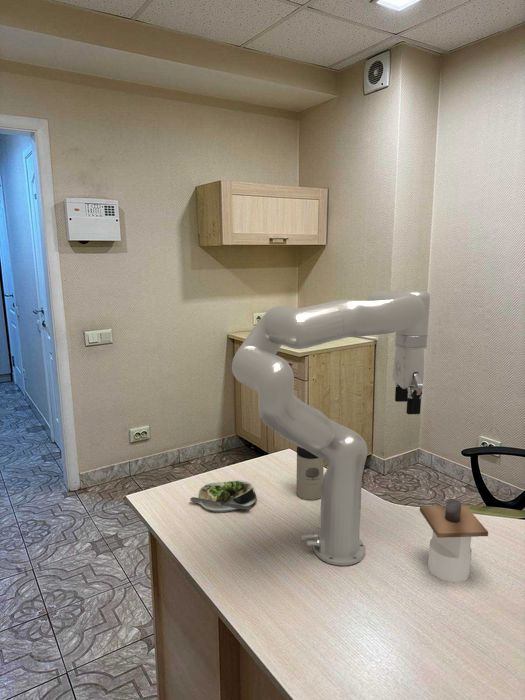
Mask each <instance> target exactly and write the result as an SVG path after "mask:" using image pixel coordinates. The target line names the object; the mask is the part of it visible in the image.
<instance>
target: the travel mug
mask: <svg viewBox="0 0 525 700" xmlns="http://www.w3.org/2000/svg"><path fill="white" fill-rule="evenodd" d="M296 446H297V445H296ZM324 463H325V461H323V460H322V459H320V458H319V457H317V456H315V455H314V454H312V453H310V452H309V451H307V450H305V449H303V448H301V447H299V446H297V447H296V484H295V486H296V488H295V489H296V490H295V491H296V492H295V493H296V496H298V497H299V498H301V499H304V500H308V501H314V500H317V499H321V481H322V477H323V475H324V465H325V464H324Z"/></svg>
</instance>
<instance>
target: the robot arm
mask: <svg viewBox="0 0 525 700" xmlns="http://www.w3.org/2000/svg"><path fill="white" fill-rule="evenodd" d="M430 304H431V295H430V293H429V292H428V291H427V290H426V291H425V290H422V289H405V290H401V291H397V290H396V291H395V290H394V291H393V290H377V291H374V292H372V293H371V294H370V295H369V296H368V297H367V298H366V300H363V299H336V300H332V301H328V302H323V303H318V304H315V305H309V306H304V307H298V308H297V307H290V306H285V305H276V306H274V307H271V308H270V309H269V310H267V311H266V312H265V314H263V316H262V317H261V318H260V319H259V321H257V323H256V324H255V325H254V327H253V328H252V329H251V331H250V332H249V334H248V335H247V336H246V338H245V339H244V341H243V342H242V344H241V345H240V346H239V347H238V349H237V350H236V352H235V355H234V356H233V358H232V362H231V372H232V375H233V376H234V378H235V379H236V380H237V382H238V383H241V384H242V385H244V386H246V387H248V388H250V389H251V390H254V391H255V392H257V394H258V395H257V396H258V397H257V398H258V399H257V400H258V402H257V403H258V405H257V407H258V413H259V414H258V415H259V417H260V420H261V421H262V422H263V424H265V426H267V427H269V429H271V430H273V431H275V432H276V433H277V434H278V435H279V436H280V437H281V438H283V439H285V440H286V441H288V442H290V443H292V444H293V445H295V446H299V447H301V448H303V449H305V450H307V451H309V452H310V453H312V454H314V455H315V456H317V457H319V458H320V459H322V460H323V461H324V463H326V464H327V467H326V468H327V469H326V471H325V472H324V473H323V477H322V481H321V497H320V516H319V517H320V522H319V523H320V524H319V527H317V530H316V531H313V533H308V532H303V533H300V540H301V542H306V545H307V546H306V547H312V548H313V552H314V554H315V555H316V556H317V557H318V558H319V559H320V560H322V561H323V562H325V563H328V564H330V565H335V566H343V567H344V566H352V565H354V564H355V565H356V564H358V563H359V562H361V561H362V560H363V559H364V557H365V556H366V546H365V543H364V542H363V541H362V540H361V539H360V534H361V533H360V529H361V528H360V527H361V511H362V510H361V507H362V506H361V505H362V484H363V482H362V475H363V469H364V470H365V465H366V461H367V456H368V445H367V442H366V441H365V439H364V438H363V437H362V436H361V435H360V434H359V433H358V432H356V431H355V430H353V429H351V428H349V427H347V426H345V425H343V424H340V423H338V422H336V421H334V420H332V419H329V418H328V416H327V415H326V414H324V413H323V412H322V411H321V410H319V409H318V408H315V407H313V406H312V405H309V404H308V403H305V402H303V401H302V400H301V399H300V398H299V397H297V396H296V395H295V390H294V389H295V377H294V371H293V368H292V367H291V365H290V364H289V362H288V361H287V360H286V359H284V358H283V357H281V356H279V355H276V354H277V353H278V352H279V350H280V348H281V347H282V346H283V347H287V348H290V349H295V350H302V349H303V350H304V349H309V348H312V347H315V346H316V347H317V346H319V345H322V344H327V343H330V342H334V341H338V340H342V339H347V338H358V337H359V338H361V337H369V336H377V335H386V334H387V335H388V334H393V333H395V335H394V336H395V337H394V338H395V339H394V347H396V348H395V351H394V359H393V360H394V361H393V371H392V380H393V381H394V382H395V388H394V389H395V393H394V401H395V402H399V403H400V402H401V403H404V402H406V414H407V415H420V414H421V404H422V398H423V397H422V395H423V389H424V379H425V378H424V376H425V375H424V374H425V351H424V350H425V349H427V347H428V335H429V333H428V332H429V319H430V317H429V316H430Z"/></svg>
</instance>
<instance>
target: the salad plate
mask: <svg viewBox="0 0 525 700" xmlns="http://www.w3.org/2000/svg"><path fill="white" fill-rule="evenodd" d="M198 494H199V497H194V496H193V497H190V498H189V501H190V502H192V503H196V504H199V505H200V506H201V507H202V508H204V509H206V510H208V511H211V512H217V513H226V512H239V511H246V510H250V509H252V507H254V505H255V504H256V503H257V501H258V499H257V494H256V491H255V488H254V486H253V484H252V483H251V482H248V481H247V480H237V479H236V480H229V481H221V482H220V481H219V482H217V481H216V482H210V483H207V484H205V485H203V486H202V487H200V489H199V493H198Z"/></svg>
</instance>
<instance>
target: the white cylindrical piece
mask: <svg viewBox="0 0 525 700" xmlns="http://www.w3.org/2000/svg"><path fill="white" fill-rule="evenodd" d="M471 543H472V537H444V538H438V537H437V536H436V534H435V533H434V531H433V530H432V538H431V539H430V541H429V546H428V547H429V548H428V562H427V569H428V571H429V573H431V574H432V575H433V576H434V577H435V578H438V579H440V580H441V581H445V582H448V583H453V584H454V583H462V582H463V583H464V582H465V581H466V580H468V578H470V573H471V572H470V571H471V562H472V547H471Z"/></svg>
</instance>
